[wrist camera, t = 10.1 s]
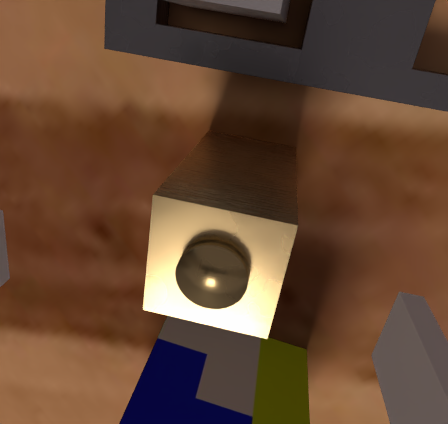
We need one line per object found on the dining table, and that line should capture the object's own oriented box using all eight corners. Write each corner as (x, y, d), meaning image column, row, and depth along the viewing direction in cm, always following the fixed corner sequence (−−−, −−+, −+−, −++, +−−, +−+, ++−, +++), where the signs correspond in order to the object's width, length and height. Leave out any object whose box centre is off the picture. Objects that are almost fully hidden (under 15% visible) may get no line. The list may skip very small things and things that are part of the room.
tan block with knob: (198, 208, 25) (138, 317, 15) (209, 130, 22) (148, 200, 13) (276, 225, 24) (266, 348, 15) (296, 147, 22) (298, 232, 13)
